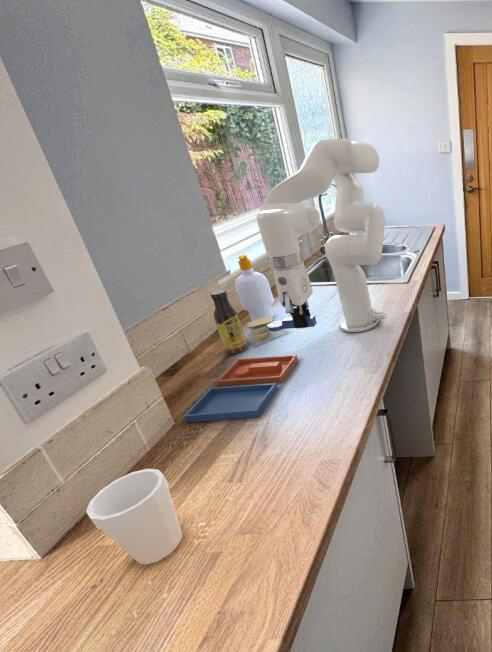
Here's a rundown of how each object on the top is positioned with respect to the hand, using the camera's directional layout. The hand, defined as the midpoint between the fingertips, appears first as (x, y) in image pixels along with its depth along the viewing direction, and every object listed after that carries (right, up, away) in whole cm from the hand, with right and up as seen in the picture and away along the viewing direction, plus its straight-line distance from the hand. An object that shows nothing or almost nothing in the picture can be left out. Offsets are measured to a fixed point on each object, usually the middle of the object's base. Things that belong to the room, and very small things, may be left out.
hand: (303, 324), depth 108 cm
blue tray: (-15, -20, -5) cm, 26 cm away
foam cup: (-6, -36, -39) cm, 54 cm away
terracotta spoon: (-16, -14, +7) cm, 22 cm away
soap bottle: (-34, 0, +40) cm, 53 cm away
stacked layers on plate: (-26, -5, +28) cm, 39 cm away
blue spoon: (-3, -1, 0) cm, 3 cm away
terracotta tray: (-16, -14, +7) cm, 23 cm away
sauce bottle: (-31, -9, +21) cm, 38 cm away
